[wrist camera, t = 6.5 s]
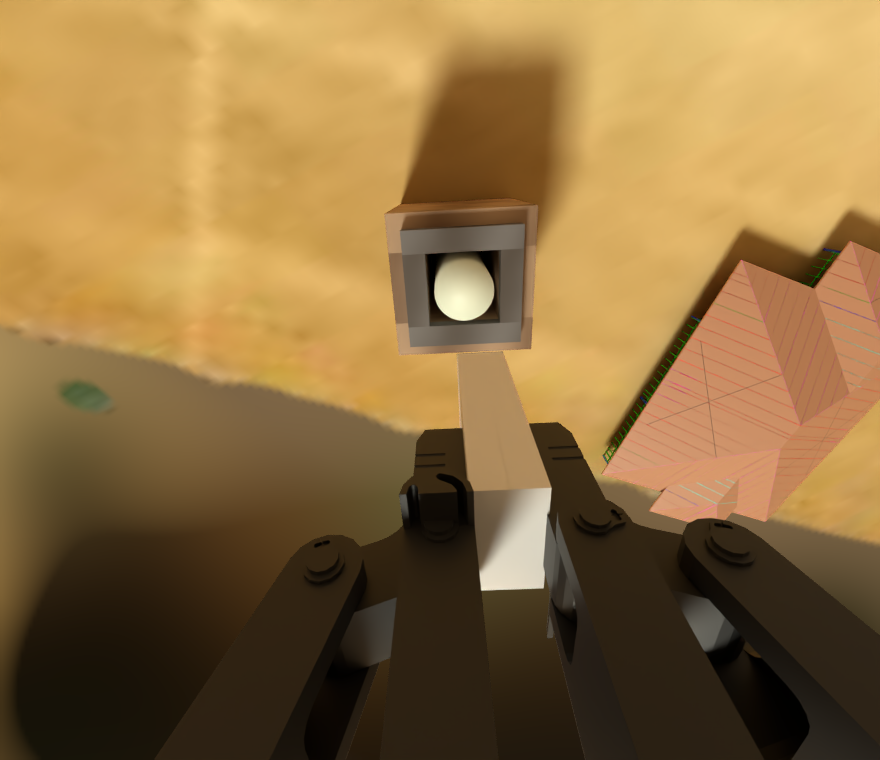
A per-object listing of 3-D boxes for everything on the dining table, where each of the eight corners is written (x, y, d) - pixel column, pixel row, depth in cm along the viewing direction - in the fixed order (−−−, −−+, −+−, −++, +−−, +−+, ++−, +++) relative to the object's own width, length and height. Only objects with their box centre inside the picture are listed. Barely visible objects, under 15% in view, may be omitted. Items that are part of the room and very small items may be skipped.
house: (581, 473, 52) (605, 522, 44) (748, 206, 38) (822, 212, 31) (734, 517, 55) (779, 569, 48) (938, 286, 41) (1047, 309, 34)
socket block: (509, 198, 37) (541, 206, 25) (507, 305, 42) (533, 354, 30) (400, 204, 37) (382, 215, 26) (409, 310, 42) (397, 360, 30)
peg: (478, 236, 37) (494, 259, 26) (479, 280, 39) (494, 319, 28) (434, 239, 37) (432, 262, 26) (437, 282, 39) (436, 322, 28)
